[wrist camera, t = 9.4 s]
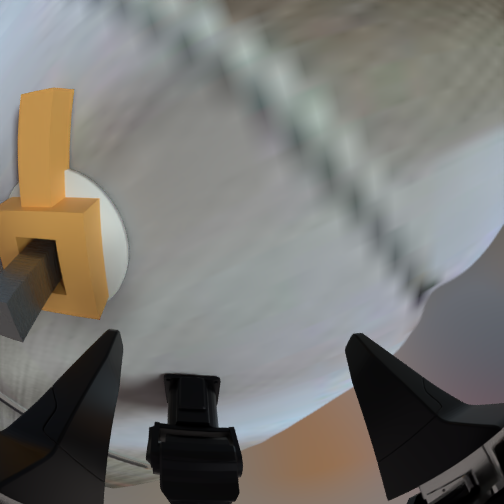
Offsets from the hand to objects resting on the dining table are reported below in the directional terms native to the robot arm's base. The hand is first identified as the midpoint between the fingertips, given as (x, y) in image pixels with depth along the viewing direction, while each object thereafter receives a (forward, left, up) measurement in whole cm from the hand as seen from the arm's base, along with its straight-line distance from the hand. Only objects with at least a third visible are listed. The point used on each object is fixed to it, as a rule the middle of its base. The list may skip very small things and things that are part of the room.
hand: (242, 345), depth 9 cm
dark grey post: (-3, +14, -11) cm, 18 cm away
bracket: (0, +14, -12) cm, 18 cm away
